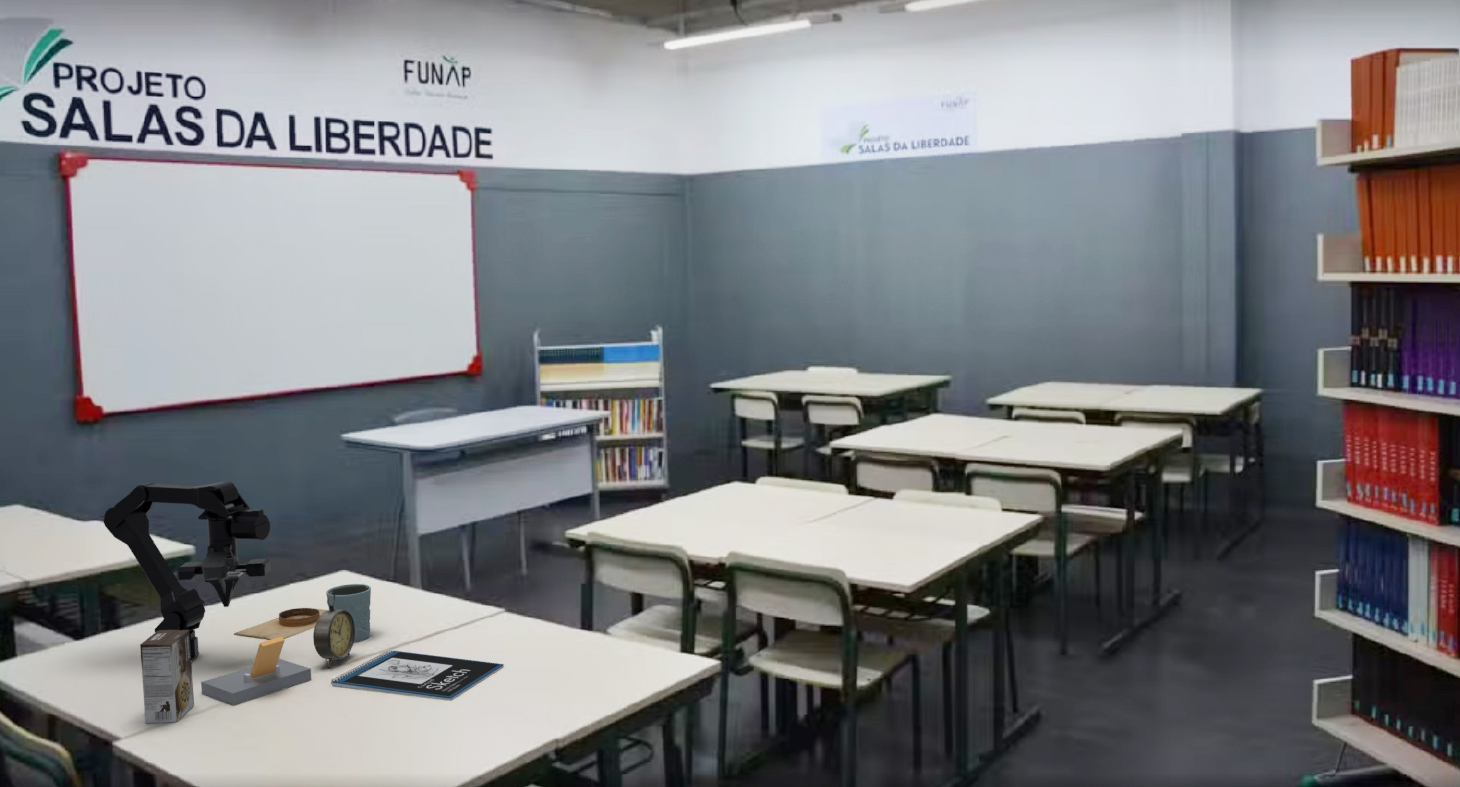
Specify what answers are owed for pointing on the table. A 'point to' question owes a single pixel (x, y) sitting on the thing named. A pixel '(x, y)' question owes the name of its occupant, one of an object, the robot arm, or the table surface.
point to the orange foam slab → (267, 657)
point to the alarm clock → (334, 633)
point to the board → (284, 624)
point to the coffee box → (167, 676)
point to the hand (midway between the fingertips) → (226, 606)
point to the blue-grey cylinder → (354, 606)
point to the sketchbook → (417, 675)
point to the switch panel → (254, 683)
